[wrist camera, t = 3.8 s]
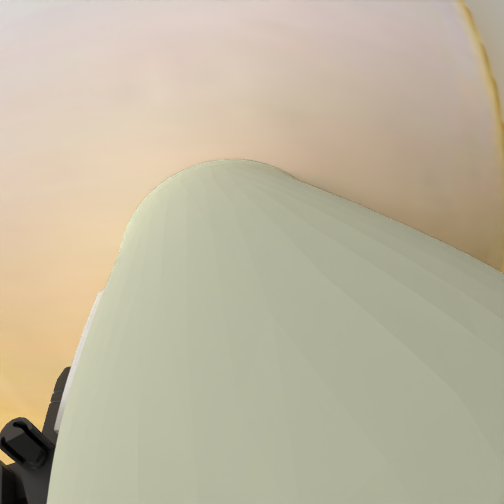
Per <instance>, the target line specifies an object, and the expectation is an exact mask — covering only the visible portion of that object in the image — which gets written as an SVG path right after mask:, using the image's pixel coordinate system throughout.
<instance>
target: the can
mask: <svg viewBox="0 0 504 504" xmlns="http://www.w3.org/2000/svg"><path fill="white" fill-rule="evenodd" d="M47 504H504V273H502V272H500V271H498V270H497V269H495V268H493V267H491V266H489V265H487V264H486V263H484V262H482V261H480V260H478V259H476V258H474V257H472V256H470V255H468V254H466V253H464V252H462V251H460V250H458V249H456V248H454V247H452V246H450V245H448V244H446V243H444V242H442V241H440V240H438V239H436V238H433V237H431V236H429V235H427V234H425V233H423V232H420V231H418V230H416V229H414V228H412V227H409V226H407V225H405V224H403V223H400V222H398V221H396V220H393V219H391V218H389V217H386V216H384V215H382V214H380V213H377V212H375V211H373V210H370V209H368V208H366V207H363V206H361V205H359V204H356V203H354V202H351V201H349V200H347V199H344V198H342V197H339V196H337V195H334V194H332V193H329V192H327V191H324V190H321V189H319V188H316V187H314V186H311V185H309V184H306V183H304V182H301V181H299V180H296V179H295V178H294V177H292V176H291V175H289V174H287V173H285V172H284V171H282V170H280V169H278V168H276V167H273V166H270V165H267V164H264V163H261V162H256V161H251V160H243V159H224V160H214V161H209V162H205V163H201V164H198V165H195V166H192V167H189V168H187V169H185V170H182V171H180V172H178V173H176V174H174V175H173V176H171V177H170V178H168V179H167V180H165V181H164V182H162V183H161V184H160V185H159V186H157V187H156V188H155V189H154V190H153V191H152V192H151V193H150V194H149V195H148V196H147V197H146V198H145V199H144V200H143V201H142V203H141V204H140V205H139V206H138V208H137V209H136V211H135V212H134V214H133V216H132V217H131V219H130V221H129V223H128V225H127V228H126V230H125V233H124V236H123V238H122V242H121V247H120V252H119V256H118V258H117V260H116V263H115V265H114V267H113V270H112V272H111V274H110V277H109V279H108V282H107V284H106V286H105V289H104V291H103V294H102V296H101V299H100V302H99V304H98V307H97V309H96V312H95V315H94V317H93V320H92V323H91V326H90V329H89V331H88V334H87V337H86V340H85V343H84V346H83V349H82V352H81V356H80V359H79V362H78V365H77V368H76V371H75V374H74V377H73V381H72V384H71V388H70V391H69V395H68V398H67V402H66V406H65V409H64V413H63V417H62V421H61V425H60V430H59V434H58V439H57V443H56V448H55V453H54V459H53V464H52V470H51V476H50V483H49V490H48V498H47Z"/></svg>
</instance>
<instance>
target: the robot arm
mask: <svg viewBox="0 0 504 504" xmlns="http://www.w3.org/2000/svg"><path fill="white" fill-rule="evenodd" d="M103 291H104V290H102V291H99V293H98V295H97V297H96V300H95V302H94V305H93V307H92V310H91V312H90V315H89V317H88V320H87V323H86V325H85V328H84V331H83V333H82V336H81V339H80V342H79V345H78V347H77V350H76V353H75V356H74V359H73V362H72V365H71V367H66V368H65V369H64V370H63V372H62V373H61V375H60V376H59V378H58V379H57V382H56V385H55V388H54V394H52V398H51V403H50V405H49V408H48V412H47V415H46V419H45V423H44V426H43V430H42V433H41V432H40V431H39V430H38V429H37V428H36V427H35V426H34V425H33V424H32V423H31V422H30V421H29V420H27V419H26V418H21V417H19V418H16V419H13V420H11V421H10V422H9V423H7V424H6V425H5V427H4V428H3V429H2V431H1V433H0V449H1V450H2V451H3V452H4V453H6V454H7V455H8V456H9V457H10V458H11V459H13V460H14V461H15V463H12V464H9V465H5V464H4V463H3V462H2V461H1V460H0V504H47V498H48V490H49V483H50V476H51V470H52V464H53V459H54V453H55V448H56V443H57V439H58V434H59V430H60V425H61V421H62V417H63V413H64V409H65V406H66V402H67V398H68V395H69V391H70V388H71V384H72V381H73V377H74V374H75V371H76V368H77V365H78V362H79V359H80V356H81V352H82V349H83V346H84V343H85V340H86V337H87V334H88V331H89V329H90V326H91V323H92V320H93V317H94V315H95V312H96V309H97V307H98V304H99V302H100V299H101V296H102V294H103Z"/></svg>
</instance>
